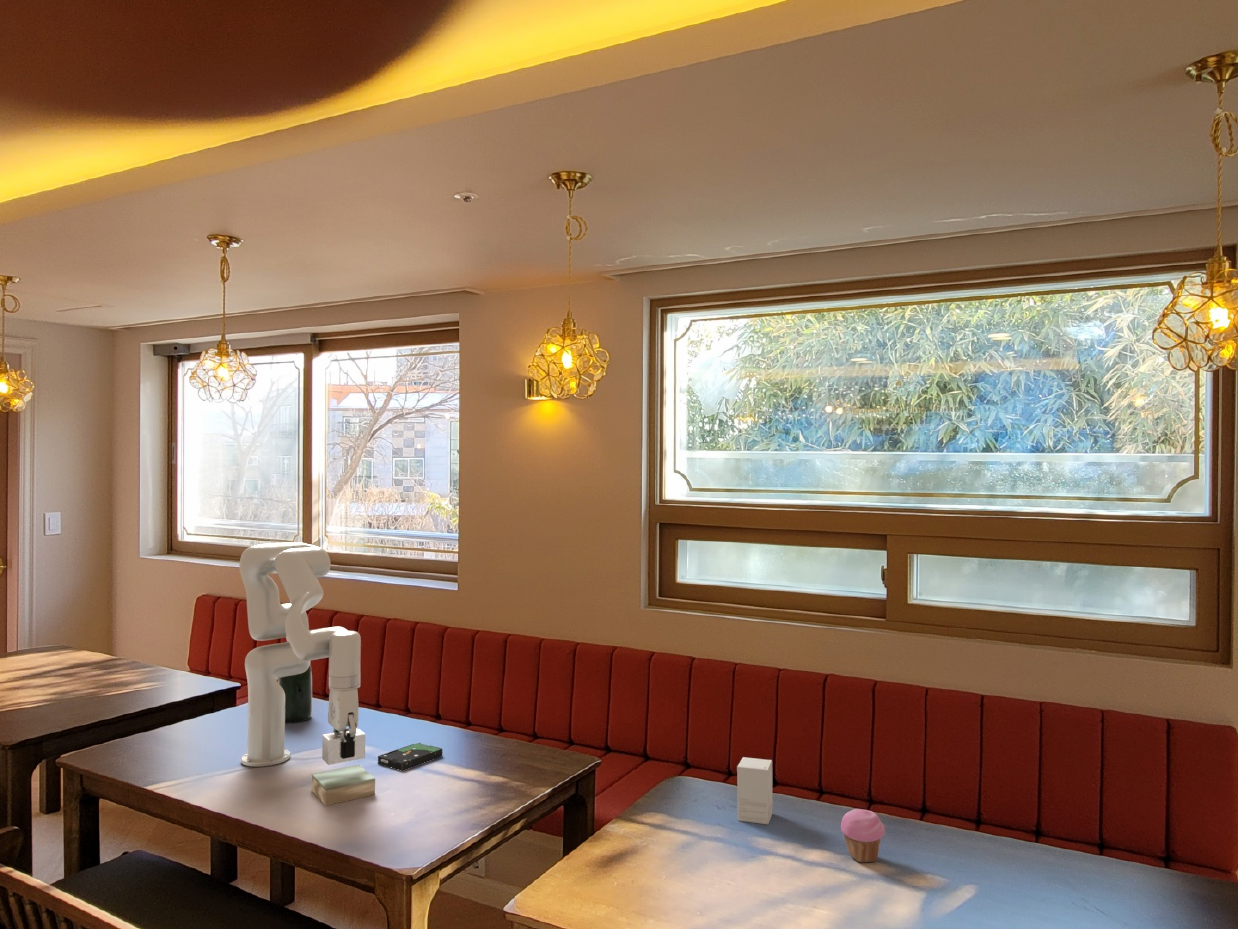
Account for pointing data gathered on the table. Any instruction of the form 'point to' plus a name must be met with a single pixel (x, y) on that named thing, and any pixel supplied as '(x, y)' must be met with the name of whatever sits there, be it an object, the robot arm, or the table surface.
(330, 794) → the stand
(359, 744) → the block
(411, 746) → the disk drive
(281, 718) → the robot arm
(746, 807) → the supplement box
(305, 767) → the table surface
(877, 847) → the cupcake
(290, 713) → the beer bottle
